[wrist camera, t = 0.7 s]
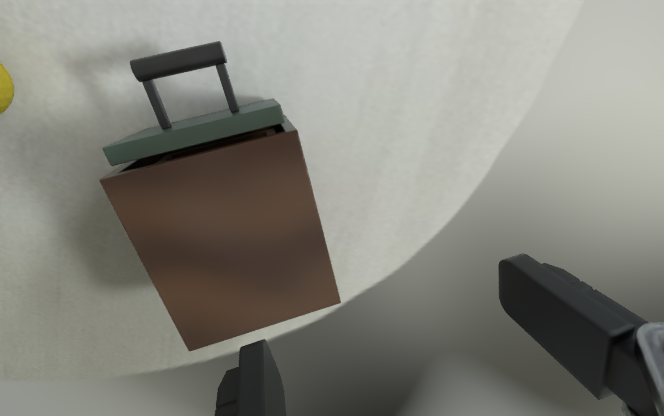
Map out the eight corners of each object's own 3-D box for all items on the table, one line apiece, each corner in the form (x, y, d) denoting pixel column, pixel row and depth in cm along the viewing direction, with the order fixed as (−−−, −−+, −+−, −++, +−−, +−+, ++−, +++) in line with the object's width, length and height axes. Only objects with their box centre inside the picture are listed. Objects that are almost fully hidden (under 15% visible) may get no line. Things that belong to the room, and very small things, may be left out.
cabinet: (149, 148, 30) (98, 179, 20) (284, 114, 31) (297, 129, 22) (207, 278, 36) (189, 352, 26) (318, 245, 37) (341, 303, 27)
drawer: (120, 71, 27) (61, 67, 19) (258, 41, 28) (259, 25, 20) (202, 259, 34) (185, 315, 26) (309, 228, 35) (324, 271, 27)
